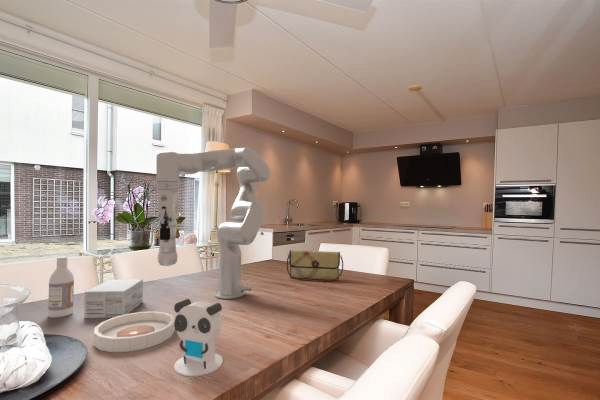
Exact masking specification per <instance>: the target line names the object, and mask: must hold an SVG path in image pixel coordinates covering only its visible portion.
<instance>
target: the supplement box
mask: <svg viewBox="0 0 600 400" xmlns="http://www.w3.org/2000/svg"><path fill="white" fill-rule="evenodd" d="M143 283H144V280H143V279H142V278H140V279H139V278H138V279H134V278H133V279H127V278H126V279H108V280H105V281H104V282H101V283H99V284H98V285H96V286H94V287H92V288H90V289H88V290H86V291H84V304H83V305H84V314H83V315H84V316H83V317H84V319H96V318H97V319H101V318H103V319H105V318H108V319H111V317H112V318H113V317H117V316H121V315H125V314H130V313H131V312H132V311H133V310H135V309H136V308H137V307H138V306H139V305H141V304H142V303H143V302H144V301H143V299H144V298H143V297H144V295H143V293H144V292H143V290H144V288H143V287H144V285H143ZM140 303H141V304H140ZM135 307H136V308H135ZM134 308H135V309H134ZM130 311H131V312H130ZM129 312H130V313H129Z"/></svg>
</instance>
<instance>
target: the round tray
mask: <svg viewBox="0 0 600 400" xmlns="http://www.w3.org/2000/svg"><path fill="white" fill-rule="evenodd" d="M174 322H175V317H174V315H172V314H170V313H167V312H162V311H137V312H130V313H128V314H125V315H121V316H117V317H112V318H108V319H106V320H104V321H101V322H100V323H99V324H97V325H96V326H95V327H94V331H93V347H94V348H95V349H98V350H99V351H103V352H109V353H123V352H125V353H126V352H133V351H140V350H144V349H145V350H146V349H148V348H150V347H154V346H156V345H160V344H162V343H164V342H165V341H167V340H170V338H172V337H173V335H174V333H175V332H176V330H175V327H174Z"/></svg>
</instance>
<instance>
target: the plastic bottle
mask: <svg viewBox="0 0 600 400" xmlns="http://www.w3.org/2000/svg"><path fill="white" fill-rule="evenodd" d="M165 219H168V218H165ZM157 228H158V229H157V230H158V235H159V245H158V254H157V263H158V265H159V266H164V267H169V266H170V267H171V266H173V265H176V263H177V262H178V253H177V245H176V244H177V243H176V241H177V240H176V238H177V231H178V230H177V229H178V222H177V219H174V220H171V218H170V224H169V228H170V240H160V219H159V220H158V222H157Z"/></svg>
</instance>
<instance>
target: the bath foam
mask: <svg viewBox="0 0 600 400" xmlns="http://www.w3.org/2000/svg"><path fill="white" fill-rule="evenodd" d="M74 287H75V279H74V274H73V273H72V271H71V270H70V269H69V268H68V256H58V257H56V268H55V270H53V272H52V274H51V275H50V277H49V281H48V305H47V306H48V308H47V311H48V312H47V314H48V315H47V316H48V317H49V318H52V319H54V318H55V319H56V318H57V319H58V318H64V317H66V316H67V317H68V316H69V315H71V314H73V313H74V293H75V291H74V289H75V288H74Z"/></svg>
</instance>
